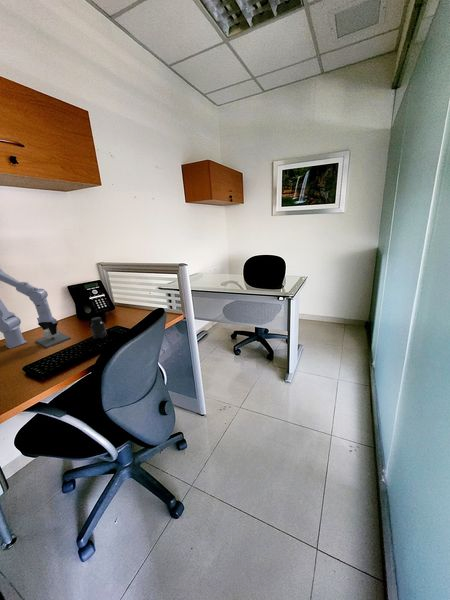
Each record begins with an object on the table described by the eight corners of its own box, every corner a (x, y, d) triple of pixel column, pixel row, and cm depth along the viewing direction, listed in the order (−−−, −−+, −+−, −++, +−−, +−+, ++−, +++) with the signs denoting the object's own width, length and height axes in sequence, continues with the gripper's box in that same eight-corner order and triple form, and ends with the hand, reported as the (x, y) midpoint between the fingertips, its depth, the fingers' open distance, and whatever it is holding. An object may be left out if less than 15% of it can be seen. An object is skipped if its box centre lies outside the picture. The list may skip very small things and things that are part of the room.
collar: (44, 337, 134) (42, 330, 132) (53, 333, 138) (51, 327, 137) (50, 338, 132) (48, 331, 130) (59, 334, 136) (57, 328, 135)
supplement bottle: (108, 338, 132) (103, 318, 129) (94, 342, 129) (88, 322, 125) (106, 334, 138) (102, 315, 134) (93, 337, 135) (88, 318, 131)
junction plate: (35, 341, 135) (33, 333, 134) (59, 333, 145) (56, 325, 143) (47, 348, 126) (44, 339, 125) (70, 338, 136) (68, 330, 134)
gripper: (28, 312, 130) (36, 335, 134) (44, 315, 124) (51, 338, 128) (41, 308, 136) (49, 329, 140) (57, 310, 130) (64, 332, 134)
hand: (51, 333), depth 134 cm, fingers closed on collar, 5 cm apart
